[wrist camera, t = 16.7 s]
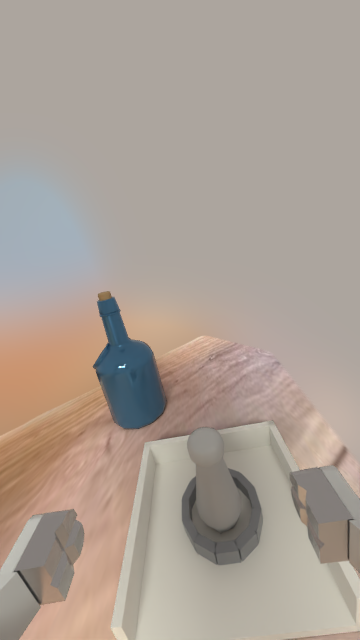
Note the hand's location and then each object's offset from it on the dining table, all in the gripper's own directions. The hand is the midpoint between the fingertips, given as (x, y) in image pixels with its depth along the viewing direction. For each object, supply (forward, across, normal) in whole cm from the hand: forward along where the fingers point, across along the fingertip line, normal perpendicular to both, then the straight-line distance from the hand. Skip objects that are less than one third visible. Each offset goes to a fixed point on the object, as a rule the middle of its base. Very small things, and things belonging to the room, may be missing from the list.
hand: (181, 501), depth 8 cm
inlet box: (+15, 0, +26) cm, 30 cm away
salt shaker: (+15, 0, +25) cm, 29 cm away
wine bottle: (+40, +15, +26) cm, 50 cm away
